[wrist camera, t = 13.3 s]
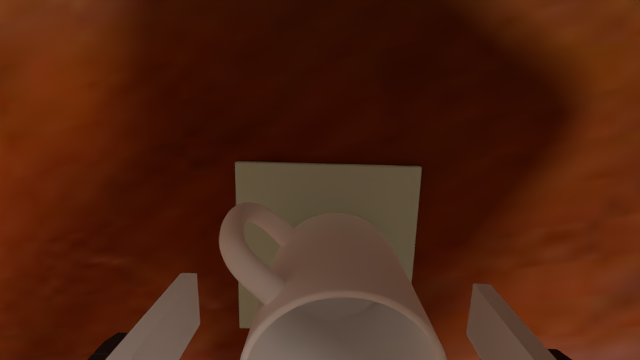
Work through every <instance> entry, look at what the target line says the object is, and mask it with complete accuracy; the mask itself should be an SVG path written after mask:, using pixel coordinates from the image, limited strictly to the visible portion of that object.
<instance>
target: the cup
mask: <svg viewBox="0 0 640 360" xmlns="http://www.w3.org/2000/svg"><path fill="white" fill-rule="evenodd" d="M247 222H253V223H255V224H256V225H258V226H259V227H261V228H262V229H263V230H264V231H266V232H267V233H268V234H269V235H270V236H271V237H272V238H273V239H274V240H275V241H276V242H277V243H278V244H279V245H280V247H279V249H278V251H277V253H276V255H275V258H274V261H273V264H272V267H271V268H270V267H269V266H267V265H266V264H265V263H264V262H262V261H261V260H260V259H259V258H258V257H257V256H256V255H255V254H254V253H253V252H252V251H251V250H250V248H249V247H248V246H247V244H246V242H245V238H244V228H245V225H246V223H247ZM219 247H220V252H221V255H222V257H223V260H224V262H225V264H226V266H227V267H228V269H229V270H230V272H231V273H232V274H233V276H234V277H235V278H236V279H237V280H238V281H239V282H240V283H241V284H242V285H243V286H244V287H245V288H246V289H247V290H248V291H249V292H251V293H252V294H253V295H254V296H255V297H256V298H258V299H259V300H260V302H259V304H258V307H257V310H256V313H255V316H254V319H253V322H252V325H251V328H250V331H249V334H248V336H247V339H246V342H245V345H244V348H243V351H242V354H241V357H240V360H447V358H446V355H445V352H444V350H443V347H442V345H441V343H440V341H439V339H438V337H437V335H436V333H435V331H434V329H433V327H432V325H431V323H430V321H429V319H428V317H427V315H426V313H425V311H424V309H423V307H422V305H421V303H420V301H419V299H418V297H417V294H416V292H415V290H414V288H413V286H412V284H411V282H410V280H409V278H408V276H407V274H406V272H405V270H404V268H403V266H402V264H401V262H400V260H399V258H398V256H397V254H396V252H395V250H394V248H393V247H392V245H391V243H390V242H389V240H388V239H387V238H386V236H385V235H384V234H383V233H382V232H381V231H380V230H379V229H378V228H377V227H375V226H374V225H373V224H371V223H370V222H368V221H366V220H364V219H362V218H360V217H357V216H354V215H350V214H345V213H327V214H321V215H317V216H314V217H312V218H309V219H307V220H305V221H303V222H302V223H300V224H299V225H297V226H296V227H295V228H293V227H292V226H291V225H289V224H288V223H287V222H286V221H285V220H284V219H282V218H281V217H280V216H279V215H277V214H276V213H275V212H273V211H272V210H270V209H269V208H267V207H265V206H263V205H260V204H257V203H253V202H245V203H240V204H238V205H236V206H235V207H233V208H232V209H231V210H230V211H229V212H228V213H227V215H226V217H225V218H224V220H223V222H222V225H221V228H220V235H219Z"/></svg>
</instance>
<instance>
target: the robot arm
mask: <svg viewBox="0 0 640 360" xmlns="http://www.w3.org/2000/svg"><path fill="white" fill-rule="evenodd" d="M199 325H200V313H199V297H198V282H197V273H180V275H179V276H178V277H177V278H176V279H175V280H174V282H173V283H172V284H171V285H170V286H169V287H168V288H167V290H166V291H165V292H164V293H163V294H162V295H161V296H160V298H159V299H158V300H157V301H156V302H155V303H154V304H153V306H152V307H151V308H150V309H149V310H148V311H147V313H146V314H145V315H144V316H143V317H142V318H141V319H140V321H139V322H138V323H137V324H136V325H135V326H134V327H133V329H132V330H131V331H130V332H129V333H117V334H116V335H114V336H112V337H111V338H109V339H108V340H106V341H105V342H104V343H103V344H102V345H101V346H100V347H99V348H98V349H97V350H96V351H95V352H94V355H91V356H90V358H89V359H88V360H179V359H180V358H181V356H182V354H183V352H184V351H185V349H186V347H187V346H188V344H189V342H190V340H191V339H192V337H193V335H194V334H195V332H196V330H197V328H198V327H199ZM466 335H467V337H468V338H469V340H470V342H471V343H472V345H473V347H474V349H475V350H476V352H477V354H478V355H479V357H480V359H481V360H572V359H570V358H569V357H567V356H566V355H564V354H563V353H561V352H560V351H559V350H557V349H547V348H546V347H545V346H544V345H543V344H542V343H541V341H540V340H539V339H538V338H537V337H536V336H535V335H534V334H533V332H532V331H531V330H530V329H529V328H528V327H527V326H526V324H525V323H524V322H523V321H522V320H521V319H520V318H519V317H518V315H517V314H516V313H515V312H514V311H513V310H512V309H511V307H510V306H509V305H508V304H507V303H506V302H505V301H504V300H503V298H502V297H501V296H500V295H499V294H498V293H497V292H496V290H495V289H494V288H493V287H492V286H491V285H490V284H476V283H473V289H472V296H471V303H470V310H469V317H468V324H467V331H466Z"/></svg>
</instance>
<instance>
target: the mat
mask: <svg viewBox="0 0 640 360" xmlns="http://www.w3.org/2000/svg"><path fill="white" fill-rule="evenodd" d="M421 172H422V167H420V166H401V165H364V164H326V163H288V162H250V161H237V162H235V183H236V205H238V204H240V203H245V202H253V203H257V204H260V205H263V206H265V207H267V208H269V209H270V210H272V211H273V212H275V213H276V214H277V215H279V216H280V217H281V218H282V219H284V220H285V221H286V222H287V223H288V224H289V225H291V226H292V227H293V228H295V227H296V226H297V225H299V224H300V223H302V222H303V221H305V220H307V219H309V218H312V217H314V216H317V215H321V214H327V213H345V214H350V215H354V216H357V217H360V218H362V219H364V220H366V221H368V222H370V223H371V224H373V225H374V226H375V227H377V228H378V229H379V230H380V231H381V232H382V233H383V234H384V235H385V236H386V238H387V239H388V240H389V242H390V243H391V245H392V247H393V248H394V250H395V252H396V254H397V256H398V258H399V260H400V262H401V264H402V266H403V268H404V270H405V272H406V274H407V276H408V278H409V280H410V282H411V284H412V273H413V262H414V251H415V239H416V228H417V217H418V206H419V194H420V183H421ZM244 238H245V242H246V244H247V246H248V247H249V248H250V250H251V251H252V252H253V253H254V254H255V255H256V256H257V257H258V258H259V259H260V260H261V261H262V262H264V263H265V264H266V265H267V266H269V267H270V268H271V267H272V264H273V261H274V258H275V255H276V253H277V251H278V249H279V247H280V245H279V244H278V243H277V242H276V241H275V240H274V239H273V238H272V237H271V236H270V235H269V234H268V233H267V232H266V231H264V230H263V229H262V228H261V227H259V226H258V225H256V224H255V223H253V222H247V223H246V225H245V228H244ZM238 289H239V324H240V328H251V325H252V322H253V319H254V316H255V313H256V310H257V307H258V304H259V302H260V300H259V299H258V298H256V297H255V296H254V295H253V294H252V293H251V292H249V291H248V290H247V289H246V288H245V287H244V286H243V285H242V284H241V283H240V282H239V281H238Z"/></svg>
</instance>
